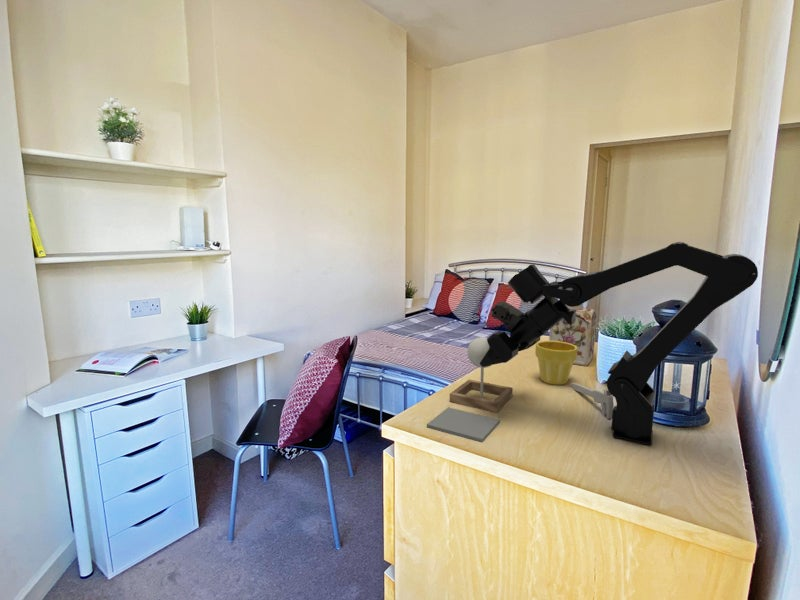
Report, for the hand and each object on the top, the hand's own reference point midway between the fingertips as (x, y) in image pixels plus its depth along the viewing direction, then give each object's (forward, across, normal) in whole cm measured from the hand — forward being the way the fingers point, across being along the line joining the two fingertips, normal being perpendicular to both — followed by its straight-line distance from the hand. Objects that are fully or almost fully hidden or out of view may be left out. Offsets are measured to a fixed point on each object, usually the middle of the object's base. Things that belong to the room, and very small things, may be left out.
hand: (489, 360), depth 98 cm
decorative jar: (+2, -46, +12) cm, 47 cm away
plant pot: (+1, -23, +13) cm, 26 cm away
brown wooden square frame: (+8, 0, +6) cm, 10 cm away
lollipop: (+8, 0, +6) cm, 10 cm away
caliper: (-6, -14, +21) cm, 26 cm away
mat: (+6, +15, +8) cm, 18 cm away
